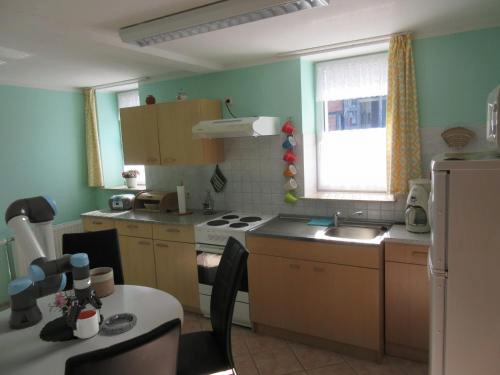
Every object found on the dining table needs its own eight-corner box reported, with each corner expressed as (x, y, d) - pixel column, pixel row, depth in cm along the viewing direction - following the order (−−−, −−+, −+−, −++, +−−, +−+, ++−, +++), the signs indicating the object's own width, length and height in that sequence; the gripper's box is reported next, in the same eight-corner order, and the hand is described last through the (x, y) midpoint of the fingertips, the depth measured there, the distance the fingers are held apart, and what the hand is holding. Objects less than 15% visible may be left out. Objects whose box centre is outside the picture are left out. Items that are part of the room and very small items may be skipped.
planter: (81, 298, 221) (79, 276, 219) (96, 287, 237) (94, 266, 235) (105, 299, 219) (103, 276, 217) (119, 288, 234) (117, 267, 232)
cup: (90, 340, 173) (88, 320, 172) (72, 339, 175) (69, 319, 174) (103, 329, 183) (101, 310, 182) (85, 328, 185) (83, 309, 184)
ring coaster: (95, 331, 181) (95, 326, 181) (117, 316, 196) (116, 311, 196) (123, 335, 176) (122, 330, 176) (142, 319, 191) (142, 314, 191)
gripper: (68, 298, 163) (74, 343, 166) (107, 277, 186) (111, 317, 189) (55, 296, 165) (60, 341, 168) (94, 276, 189) (99, 315, 192)
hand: (87, 328), depth 179 cm, fingers open, 13 cm apart
